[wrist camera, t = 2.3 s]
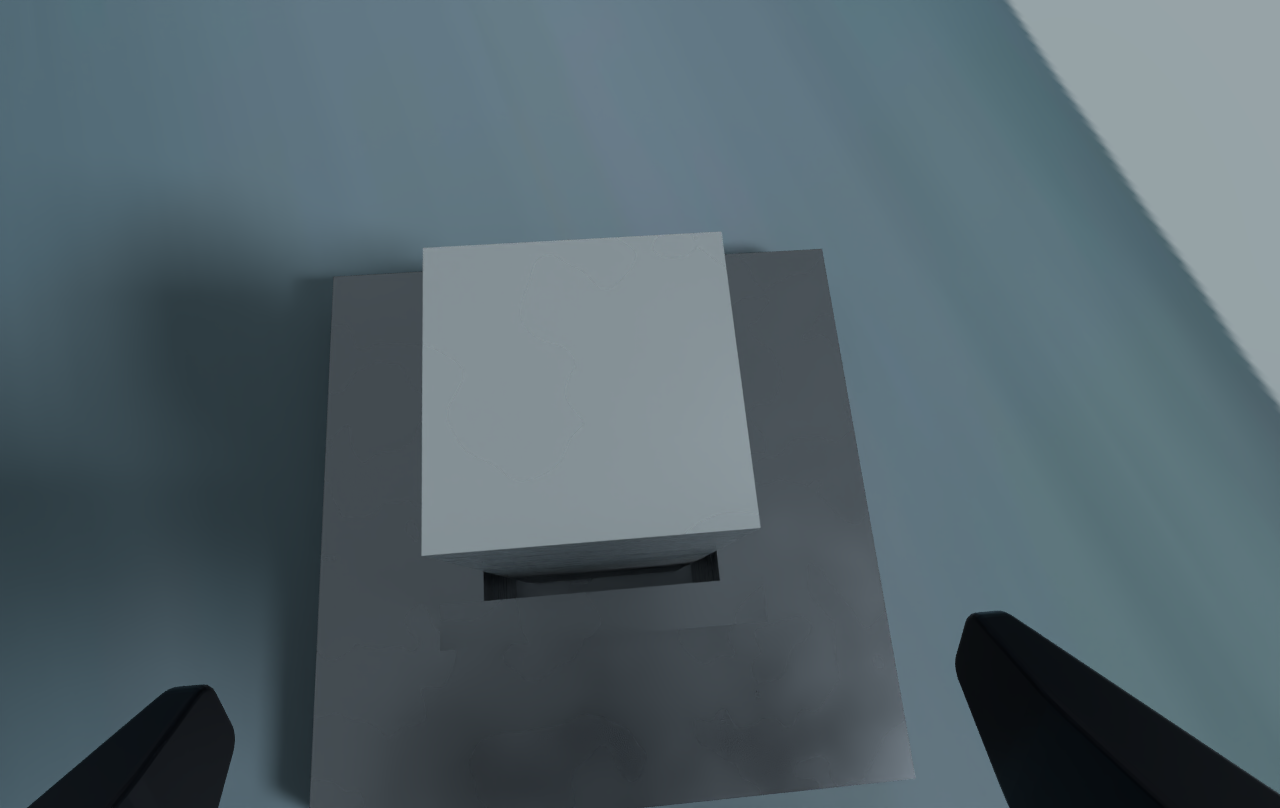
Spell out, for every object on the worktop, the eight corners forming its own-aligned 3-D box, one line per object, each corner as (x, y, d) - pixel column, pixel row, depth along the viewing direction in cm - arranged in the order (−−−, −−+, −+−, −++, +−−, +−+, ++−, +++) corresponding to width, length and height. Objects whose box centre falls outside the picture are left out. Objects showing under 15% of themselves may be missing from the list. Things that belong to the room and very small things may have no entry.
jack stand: (890, 764, 18) (1027, 843, 12) (333, 822, 17) (187, 937, 11) (807, 272, 21) (879, 150, 16) (353, 299, 21) (252, 181, 15)
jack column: (676, 571, 17) (760, 528, 7) (531, 583, 17) (421, 555, 7) (662, 428, 18) (720, 224, 8) (525, 437, 18) (423, 240, 8)
